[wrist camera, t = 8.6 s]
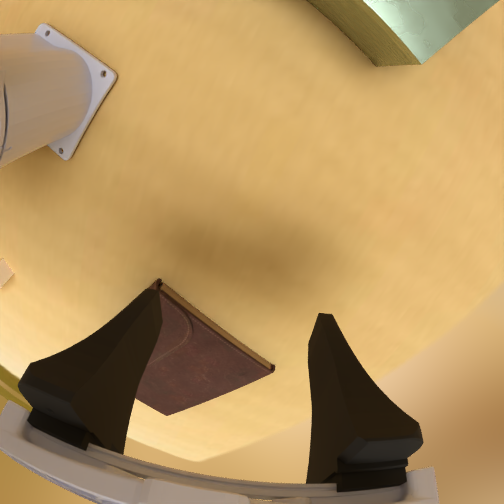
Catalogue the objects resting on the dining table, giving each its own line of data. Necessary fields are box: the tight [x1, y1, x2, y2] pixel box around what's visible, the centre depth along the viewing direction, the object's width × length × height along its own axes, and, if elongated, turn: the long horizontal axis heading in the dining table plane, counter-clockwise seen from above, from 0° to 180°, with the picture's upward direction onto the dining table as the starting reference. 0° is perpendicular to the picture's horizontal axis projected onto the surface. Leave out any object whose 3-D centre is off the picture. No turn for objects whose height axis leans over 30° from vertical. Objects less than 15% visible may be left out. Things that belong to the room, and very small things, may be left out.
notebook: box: [135, 278, 275, 416], centre depth 32 cm, size 15×20×2 cm
